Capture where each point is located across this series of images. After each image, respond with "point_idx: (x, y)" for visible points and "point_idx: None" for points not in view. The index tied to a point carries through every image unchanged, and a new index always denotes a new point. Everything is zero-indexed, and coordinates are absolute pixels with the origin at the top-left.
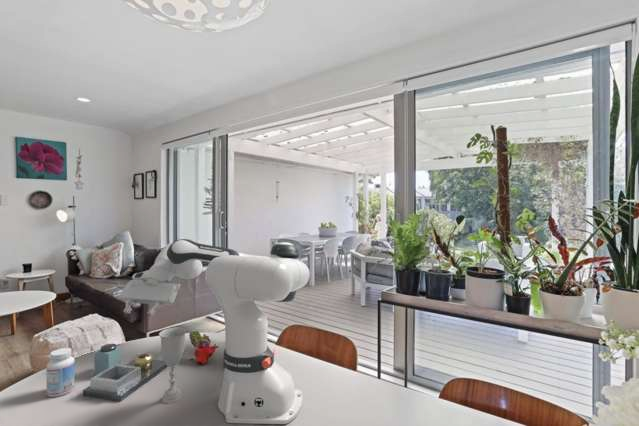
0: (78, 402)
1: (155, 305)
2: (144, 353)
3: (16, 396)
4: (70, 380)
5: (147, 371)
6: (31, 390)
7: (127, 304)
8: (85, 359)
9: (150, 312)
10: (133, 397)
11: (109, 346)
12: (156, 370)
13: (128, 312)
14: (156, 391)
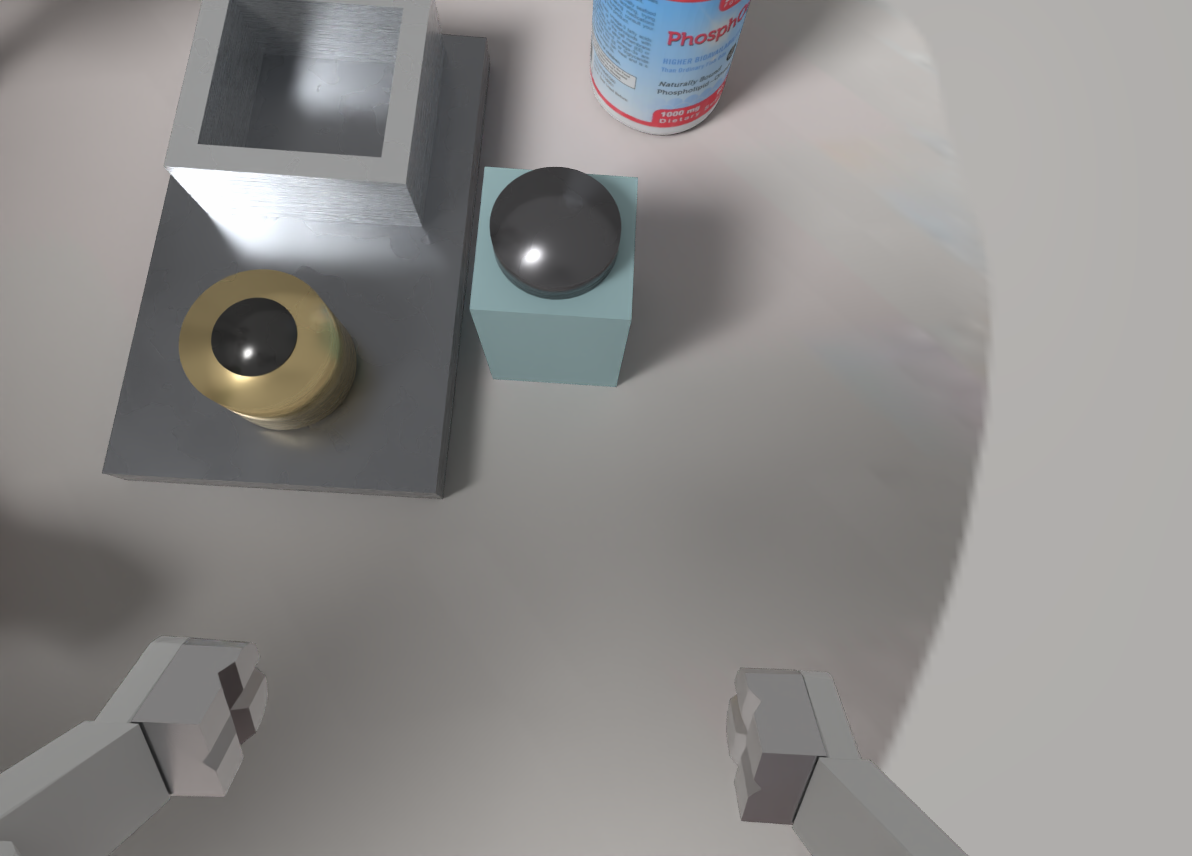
0: (459, 12)
1: (4, 804)
2: (278, 390)
3: (846, 18)
4: (592, 22)
5: (202, 290)
6: (830, 72)
7: (870, 807)
8: (892, 467)
9: (168, 647)
10: (173, 85)
11: (543, 223)
12: (139, 316)
13: (734, 703)
14: (59, 155)
